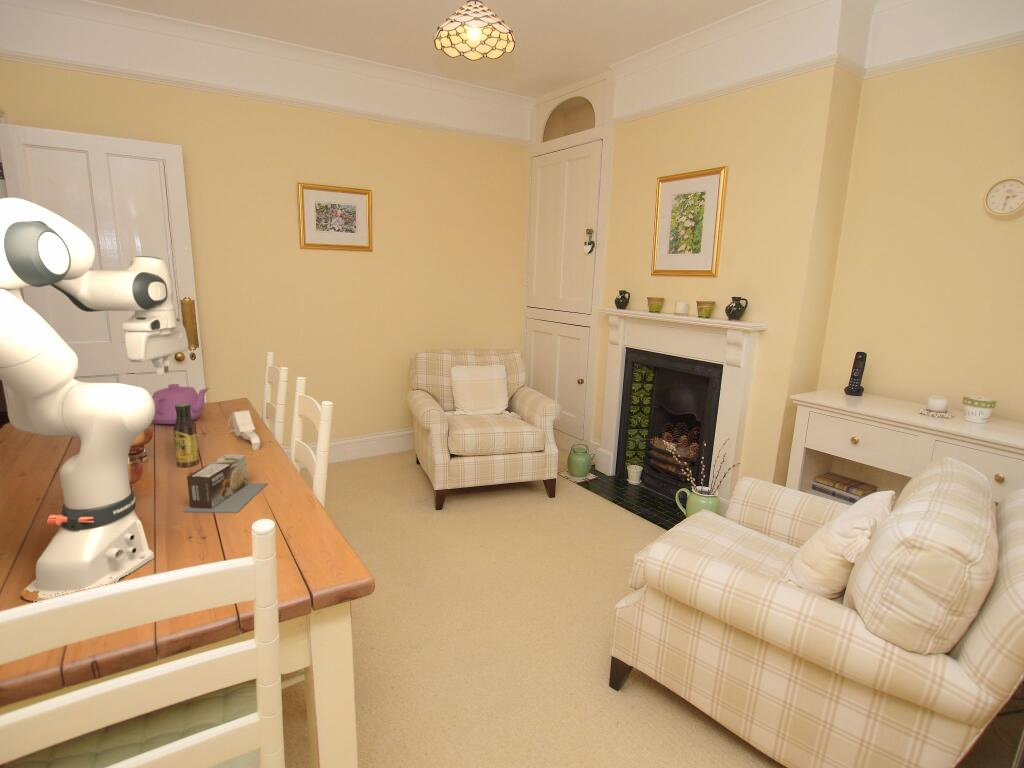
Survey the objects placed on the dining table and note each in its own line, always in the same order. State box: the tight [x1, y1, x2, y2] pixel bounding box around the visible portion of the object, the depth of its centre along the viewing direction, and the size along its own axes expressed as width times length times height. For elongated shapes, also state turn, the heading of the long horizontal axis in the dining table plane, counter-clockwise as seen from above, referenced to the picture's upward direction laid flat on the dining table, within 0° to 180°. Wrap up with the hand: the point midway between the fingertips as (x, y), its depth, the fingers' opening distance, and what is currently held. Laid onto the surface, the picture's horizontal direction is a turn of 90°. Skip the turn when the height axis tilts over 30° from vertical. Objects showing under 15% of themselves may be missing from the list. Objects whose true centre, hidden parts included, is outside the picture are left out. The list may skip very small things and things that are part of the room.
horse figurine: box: [227, 410, 261, 451], centre depth 188 cm, size 5×16×25 cm
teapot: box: [151, 383, 210, 425], centre depth 208 cm, size 23×21×15 cm
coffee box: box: [186, 453, 249, 508], centre depth 143 cm, size 9×6×16 cm
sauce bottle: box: [172, 403, 200, 468], centre depth 164 cm, size 7×6×20 cm
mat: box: [182, 482, 268, 514], centre depth 144 cm, size 18×14×1 cm
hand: (163, 372), depth 139 cm, fingers closed
